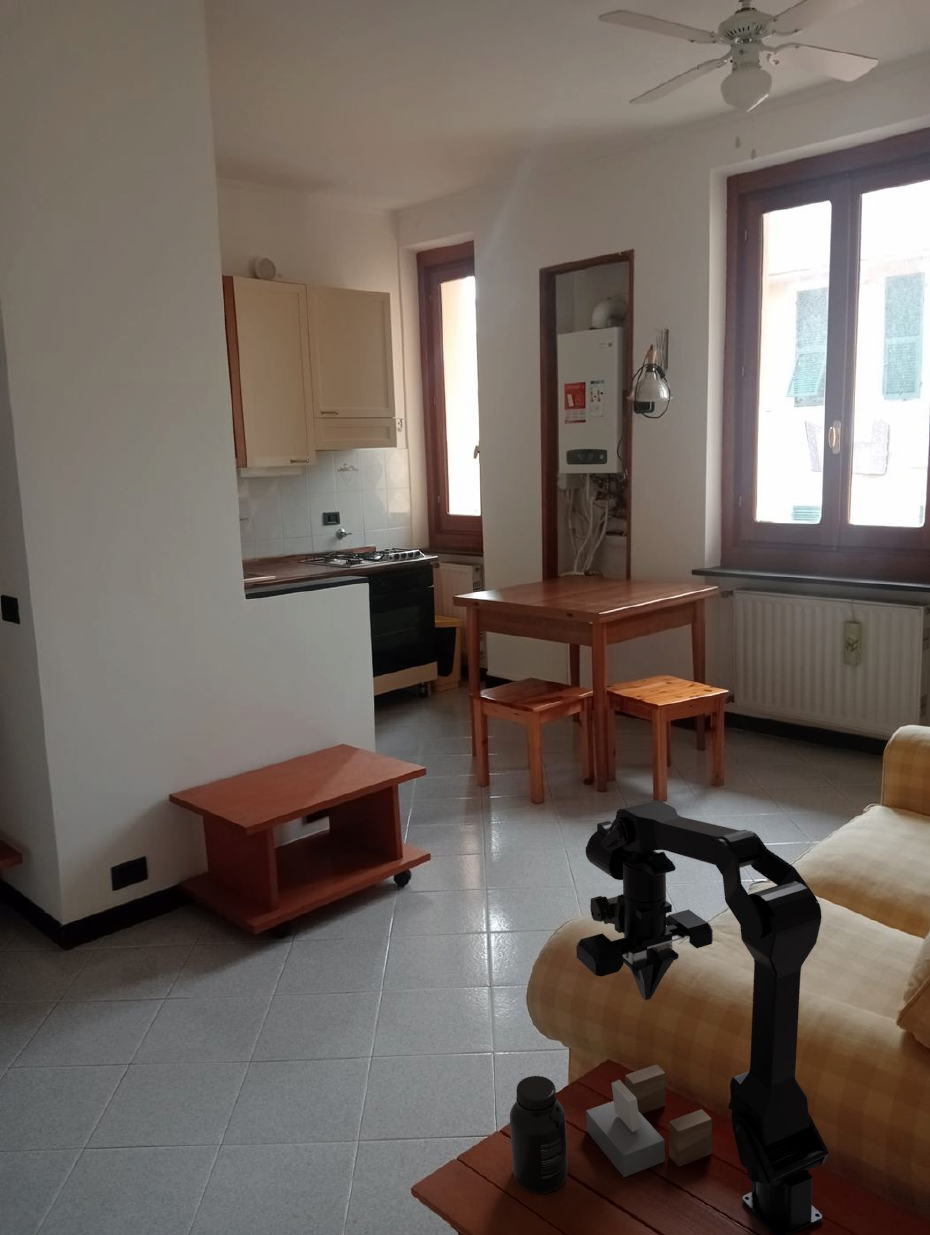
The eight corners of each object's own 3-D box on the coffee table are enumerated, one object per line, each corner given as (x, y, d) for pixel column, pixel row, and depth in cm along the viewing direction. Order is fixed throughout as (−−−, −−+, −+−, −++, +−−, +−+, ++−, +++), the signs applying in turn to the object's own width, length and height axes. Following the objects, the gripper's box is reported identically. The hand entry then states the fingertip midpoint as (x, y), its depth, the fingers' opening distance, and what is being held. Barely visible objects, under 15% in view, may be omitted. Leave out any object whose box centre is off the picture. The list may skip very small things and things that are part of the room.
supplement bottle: (567, 1155, 121) (564, 1070, 119) (568, 1196, 114) (565, 1107, 112) (513, 1153, 122) (510, 1069, 120) (511, 1194, 115) (507, 1106, 113)
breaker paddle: (640, 1128, 120) (636, 1098, 119) (632, 1131, 120) (628, 1102, 119) (623, 1108, 124) (619, 1079, 123) (615, 1112, 123) (611, 1083, 122)
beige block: (711, 1153, 120) (711, 1118, 119) (678, 1167, 118) (678, 1131, 117) (701, 1143, 122) (701, 1108, 121) (669, 1156, 120) (668, 1121, 119)
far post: (665, 1105, 129) (665, 1072, 128) (634, 1117, 127) (633, 1083, 126) (656, 1096, 131) (656, 1064, 130) (625, 1108, 129) (625, 1074, 128)
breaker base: (664, 1161, 119) (664, 1139, 119) (623, 1177, 117) (623, 1155, 116) (625, 1116, 127) (625, 1096, 127) (586, 1130, 125) (586, 1110, 124)
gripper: (667, 856, 140) (668, 954, 142) (555, 884, 133) (558, 986, 135) (715, 887, 129) (715, 991, 132) (596, 918, 122) (599, 1028, 125)
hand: (646, 998), depth 131 cm, fingers closed
